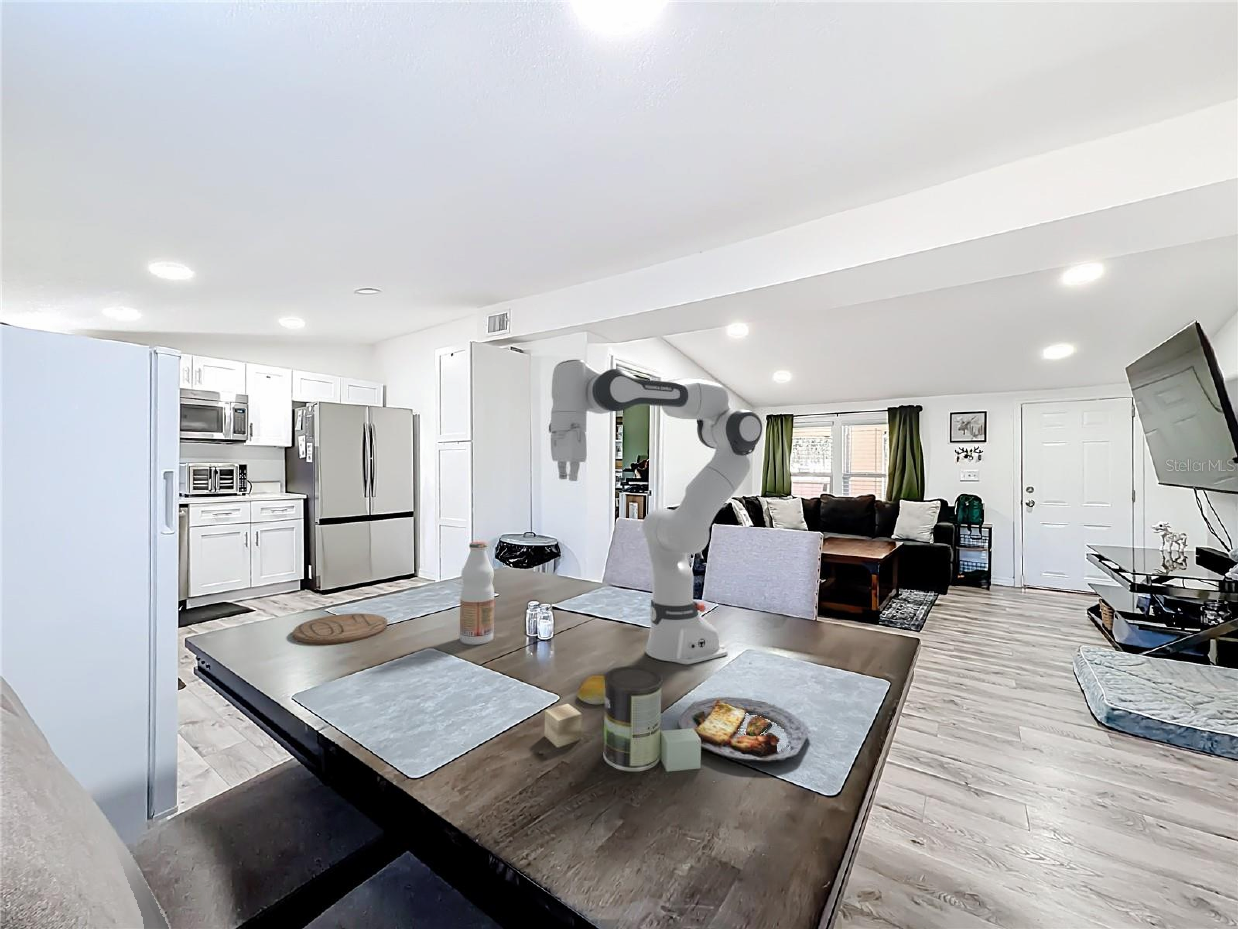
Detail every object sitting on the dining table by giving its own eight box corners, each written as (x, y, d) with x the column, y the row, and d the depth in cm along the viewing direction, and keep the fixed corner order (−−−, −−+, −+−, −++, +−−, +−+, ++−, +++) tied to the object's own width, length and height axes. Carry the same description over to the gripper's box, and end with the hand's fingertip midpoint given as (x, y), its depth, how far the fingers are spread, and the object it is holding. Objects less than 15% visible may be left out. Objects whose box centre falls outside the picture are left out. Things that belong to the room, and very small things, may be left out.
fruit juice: (458, 646, 150) (460, 545, 149) (460, 635, 159) (462, 540, 159) (493, 644, 152) (494, 545, 151) (493, 633, 161) (495, 540, 161)
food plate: (785, 786, 87) (785, 764, 87) (658, 745, 100) (658, 726, 100) (818, 727, 109) (818, 710, 109) (710, 700, 121) (710, 684, 121)
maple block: (567, 729, 105) (567, 703, 105) (580, 740, 101) (581, 713, 101) (544, 736, 102) (545, 710, 102) (557, 748, 98) (558, 720, 98)
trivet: (371, 614, 179) (371, 609, 179) (399, 633, 161) (399, 627, 161) (284, 629, 162) (284, 623, 162) (304, 652, 144) (305, 645, 144)
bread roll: (574, 704, 116) (574, 686, 116) (584, 687, 125) (584, 670, 125) (611, 708, 114) (612, 689, 114) (619, 690, 123) (619, 673, 123)
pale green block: (692, 756, 96) (693, 728, 96) (700, 768, 92) (701, 739, 92) (660, 759, 95) (660, 731, 95) (666, 772, 91) (667, 742, 91)
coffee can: (599, 770, 91) (601, 687, 91) (606, 739, 101) (607, 664, 101) (660, 774, 90) (662, 690, 90) (661, 742, 100) (662, 667, 100)
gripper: (593, 422, 126) (592, 481, 126) (570, 427, 145) (569, 478, 146) (567, 421, 124) (566, 481, 124) (547, 426, 143) (546, 478, 143)
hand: (567, 480), depth 135 cm, fingers open, 8 cm apart
